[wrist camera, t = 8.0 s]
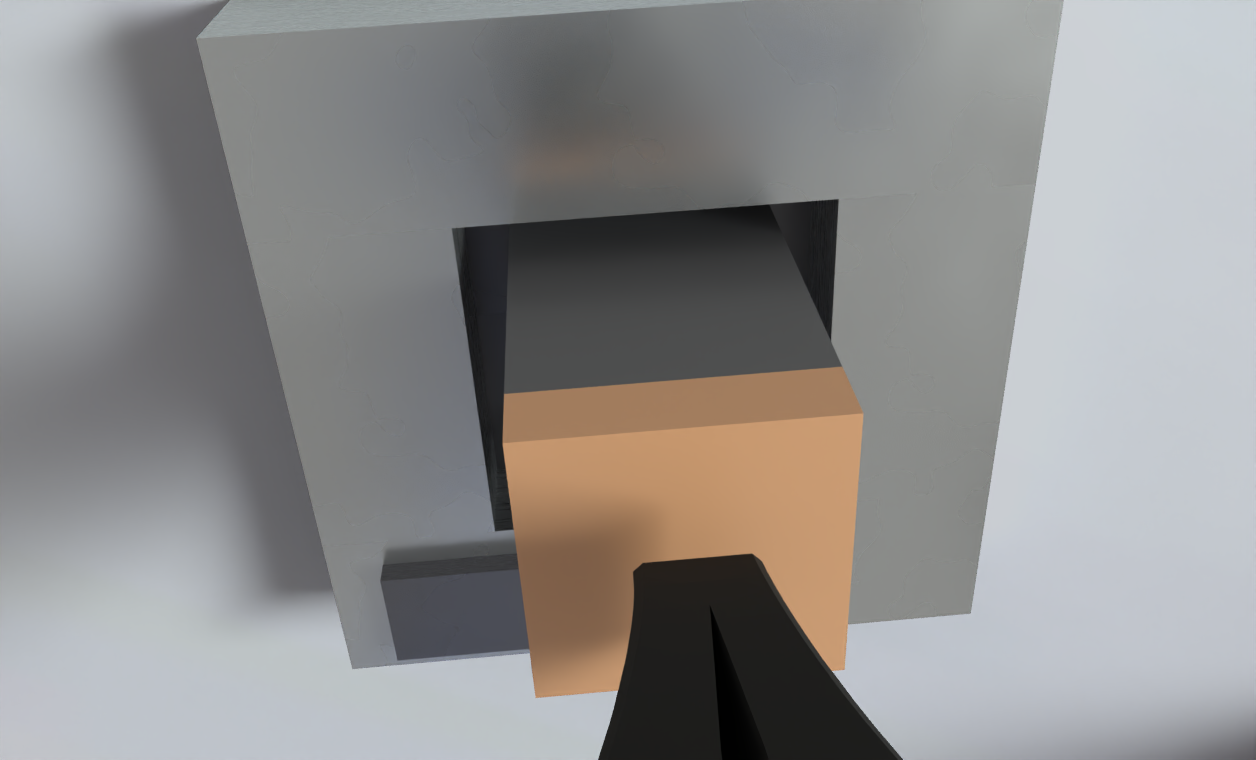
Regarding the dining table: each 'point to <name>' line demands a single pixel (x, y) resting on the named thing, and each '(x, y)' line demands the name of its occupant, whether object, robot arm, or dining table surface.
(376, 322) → the socket plate
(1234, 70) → the dining table surface
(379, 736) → the dining table surface
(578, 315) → the plug
